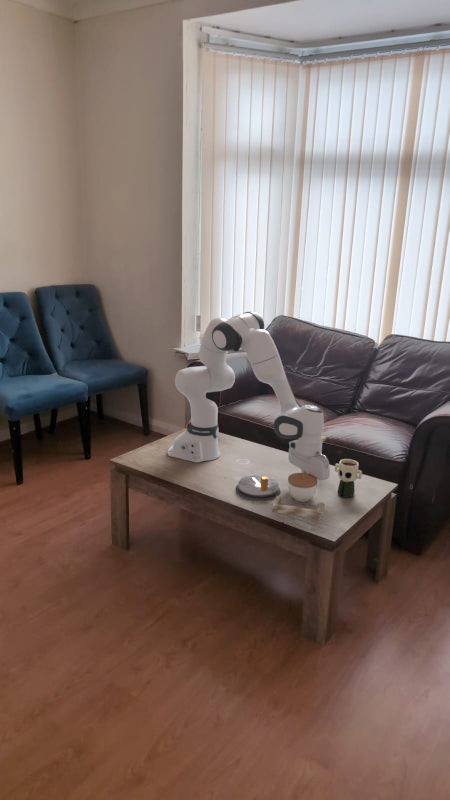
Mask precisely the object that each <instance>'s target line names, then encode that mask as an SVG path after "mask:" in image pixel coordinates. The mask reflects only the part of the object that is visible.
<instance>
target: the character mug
mask: <svg viewBox="0 0 450 800" xmlns="http://www.w3.org/2000/svg"><path fill="white" fill-rule="evenodd" d="M338 462H339V463H335V465H334V471H335V472H336V473H337V476H338V478H339V483H338V488H337V494H338V496H342V497H346V498H349V497H350V498H351V497H353V496H354V495H355V489H356V488H355V482H354V481H356V480H357V479H359V480H361V479H362V475H363V471H362V470H360V469H359V466H360V465H359V462H358V461H357V460H354V459H351V458H344V459H343V458H342V459H340V461H338Z"/></svg>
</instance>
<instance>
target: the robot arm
mask: <svg viewBox="0 0 450 800" xmlns="http://www.w3.org/2000/svg"><path fill="white" fill-rule="evenodd" d="M276 345H277V344H275V341H274V339H273V338H272V336H271V334H270V332H269V331H267V330H266V329H265V323H264V319H263V317H262V315H260V313H258V312H256V311H245V312H243V313H241V314H237V315H235V316H232V317H230V318H229V319H226V318H224V317H214V318H212V319H211V320H210V321H209V323H208V325H207V327H206V329H205V331H204V333H203V336H202V340H201V343H200V347H199V351H198V358H199V360H200V362H201V363H202V364H203V365H201V366H189V367H185V368H183V369H179V370H178V371H177V373H176V374H175V378H174V384H175V387H176V389H177V391H179V393H180V394H182V395H183V396H185V397H186V399H187V401H188V403H189V405H190V416H191V417H190V420H188V423H186V425H185V429H186V430H185V431H183V432H181V433H180V434H179V435H177V436H176V437H175V438H174V440H173V444H172V445H171V446H170V447H169V448H168V449H167V457H173V458H176V459H179V460H183V461H188V462H193V463H202V462H205V461H206V462H207V461H208V462H209V461H213V460H215V459H218V458H219V457H220V456H221V452H220V448H219V442H218V438H219V437H218V436H219V423H218V413H219V412H218V411H219V409H218V405H217V404H216V402H215V401H213V400H211V399H208V398H207V393H213V392H214V393H215V392H222V391H225V390H228V389H231V388H232V387H233V385H234V384H235V380H236V375H235V370H234V369H233V368H232V367H231V366H229V364H227V358H228V353H229V352H239V351H240V349H242V350H243V351H244V352H245V353H246V355H247V358H248V362H249V363H250V367H251V369H252V371H253V374H254V375H255V377H256V380H258V381H259V382H261V383H263V384H268V385H269V386H271V387H272V389H273V391H274V394H275V396H276V397H277V398H276V399H277V400H278V403H279V406H280V413H279V414H278V415H277V417H276V418H275V420H274V421H273V430H274V432H275V434H276V435H277V436H278V437H279V438H282V439H285V440H286V439H287V440H291V441H289V442H288V445H289V448H288V454H287V455H288V456H287V457H288V462H289V463H290V464H291V465H293V466H295V468H296V467H297V468H298V469H300V470H301V473H307V474H311V475H312V476H314V477H316V478H317V480H320V481H326V480H329V478H330V473H331V472H330V460H329V459H328V457H327V455H325V454H322V450H323V442H322V435H323V432H324V419H325V418H324V413H323V410H322V409H321V408H320V407H318V406H317V405H313V404H303V405H301V403H299V402H298V401H297V398H296V396H295V394H294V392H293V389H292V387H291V384H290V382H289V380H288V377H287V375H286V372H285V368H284V366H283V362H282V360H281V356H280V354H279V351H278V349H277V346H276Z"/></svg>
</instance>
